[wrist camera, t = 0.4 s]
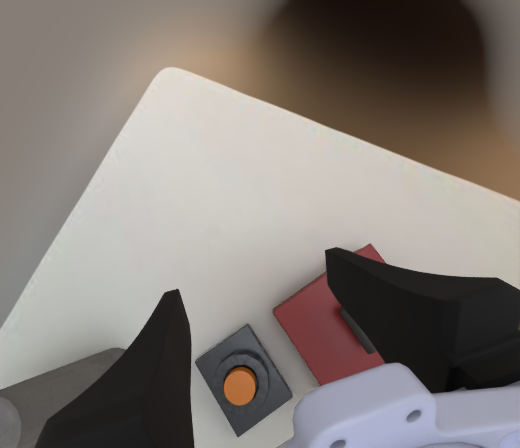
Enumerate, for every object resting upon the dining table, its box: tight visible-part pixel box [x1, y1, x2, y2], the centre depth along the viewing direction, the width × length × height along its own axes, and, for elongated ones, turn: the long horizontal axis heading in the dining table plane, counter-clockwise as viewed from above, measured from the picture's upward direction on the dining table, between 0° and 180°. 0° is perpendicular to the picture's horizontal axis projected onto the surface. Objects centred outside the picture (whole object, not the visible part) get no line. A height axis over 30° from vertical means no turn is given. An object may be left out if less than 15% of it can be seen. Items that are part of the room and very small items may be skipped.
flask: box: [0, 348, 125, 448], centre depth 28 cm, size 15×6×20 cm, turn 130°
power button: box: [224, 367, 256, 405], centre depth 34 cm, size 4×4×2 cm
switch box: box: [195, 324, 293, 437], centre depth 36 cm, size 10×8×3 cm
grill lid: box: [273, 244, 386, 386], centre depth 32 cm, size 14×12×4 cm
